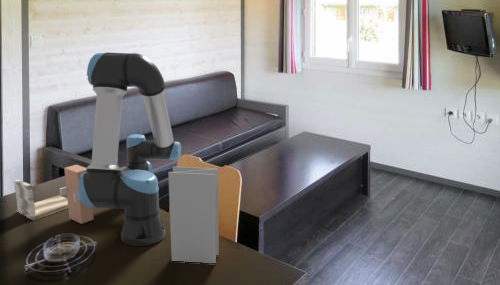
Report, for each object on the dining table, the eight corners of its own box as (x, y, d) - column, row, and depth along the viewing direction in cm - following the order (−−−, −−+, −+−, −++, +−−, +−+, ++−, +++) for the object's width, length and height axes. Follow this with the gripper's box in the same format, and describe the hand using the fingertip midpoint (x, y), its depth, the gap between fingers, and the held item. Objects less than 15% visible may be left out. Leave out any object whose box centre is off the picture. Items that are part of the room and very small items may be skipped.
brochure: (218, 255, 154) (218, 168, 146) (215, 264, 148) (215, 174, 140) (176, 253, 155) (173, 166, 147) (171, 261, 150) (168, 172, 142)
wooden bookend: (75, 205, 191) (72, 174, 187) (33, 220, 177) (29, 186, 173) (59, 198, 198) (55, 167, 194) (17, 212, 184) (12, 179, 180)
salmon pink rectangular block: (93, 219, 177) (89, 168, 172) (81, 223, 173) (77, 172, 168) (80, 213, 182) (76, 164, 176) (69, 218, 178) (64, 167, 173)
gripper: (136, 193, 183) (85, 212, 166) (102, 181, 195) (52, 197, 178) (135, 175, 181) (83, 192, 164) (101, 164, 193) (50, 179, 176)
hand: (67, 195), depth 171 cm, fingers closed on salmon pink rectangular block, 8 cm apart
